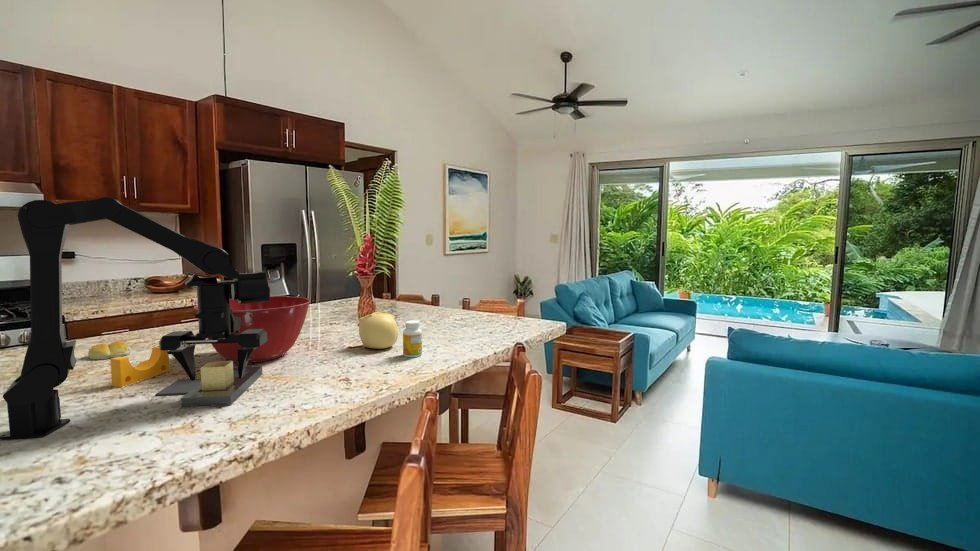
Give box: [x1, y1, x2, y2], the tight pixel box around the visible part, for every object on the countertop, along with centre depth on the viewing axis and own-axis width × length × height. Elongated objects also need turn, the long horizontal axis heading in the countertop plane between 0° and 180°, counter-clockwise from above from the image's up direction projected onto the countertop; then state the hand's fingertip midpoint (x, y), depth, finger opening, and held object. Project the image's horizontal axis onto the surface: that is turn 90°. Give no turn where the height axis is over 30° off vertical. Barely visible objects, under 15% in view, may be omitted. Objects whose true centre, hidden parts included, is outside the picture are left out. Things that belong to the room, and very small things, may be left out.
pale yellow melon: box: [358, 311, 399, 349], centre depth 136 cm, size 12×12×11 cm
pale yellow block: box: [200, 360, 234, 392], centre depth 94 cm, size 4×4×7 cm
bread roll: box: [87, 340, 131, 361], centre depth 123 cm, size 8×9×4 cm
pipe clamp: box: [109, 345, 170, 388], centre depth 105 cm, size 12×4×6 cm, turn 170°
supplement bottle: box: [402, 320, 423, 358], centre depth 127 cm, size 5×5×10 cm
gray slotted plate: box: [180, 365, 263, 409], centre depth 98 cm, size 20×9×2 cm, turn 11°
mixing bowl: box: [193, 295, 311, 363], centre depth 124 cm, size 28×28×16 cm
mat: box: [154, 377, 201, 397], centre depth 100 cm, size 10×10×1 cm
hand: (217, 379), depth 94 cm, fingers open, 9 cm apart
